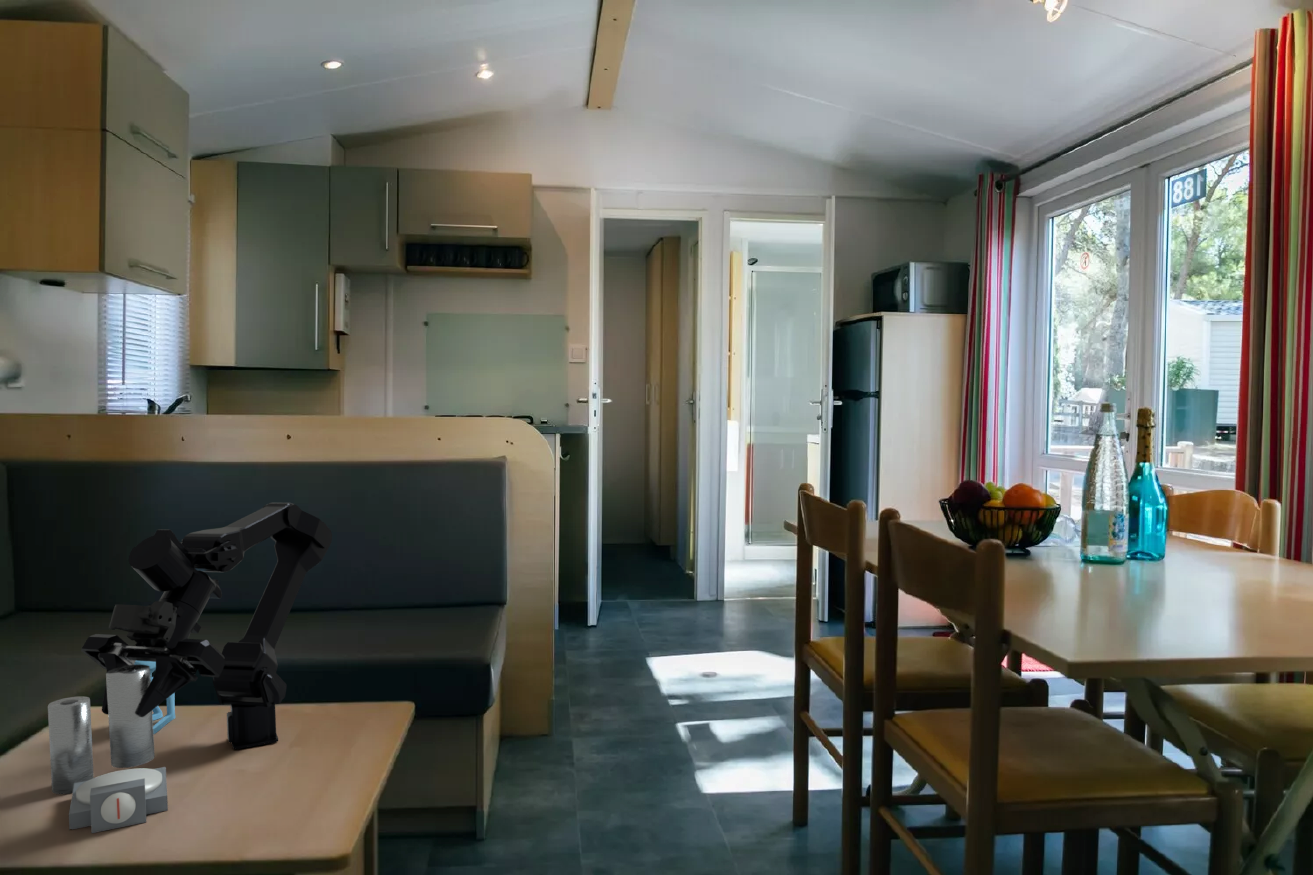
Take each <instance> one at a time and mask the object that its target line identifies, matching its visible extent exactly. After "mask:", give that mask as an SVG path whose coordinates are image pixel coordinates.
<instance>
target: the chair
mask: <svg viewBox="0 0 1313 875" xmlns="http://www.w3.org/2000/svg"><path fill="white" fill-rule="evenodd" d="M134 664H135V665H148V666H149V667H150V681H152V679H153V677H154V676H152V673H155V672H156V662H152V661H135V663H134ZM175 693H176V692H175ZM175 693H173V694H172V695H171V696H169V697H168V698H167V699H165V701H166V715H165V716H164V715H163V711H162V709H161V708H160V707H159V705H158V706H157V707H155V708H154V709H153V710H152V717H153V722H154V721H156V720H158V722H156V723H155V724H153V735H156V733H158V732H159V731H161V730H162V729H164V727H166V725H168V724H169V723H170V722H172V721H173V720H175V719H176V709H175V701H176V700H175V697H176V696H175Z"/></svg>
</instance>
